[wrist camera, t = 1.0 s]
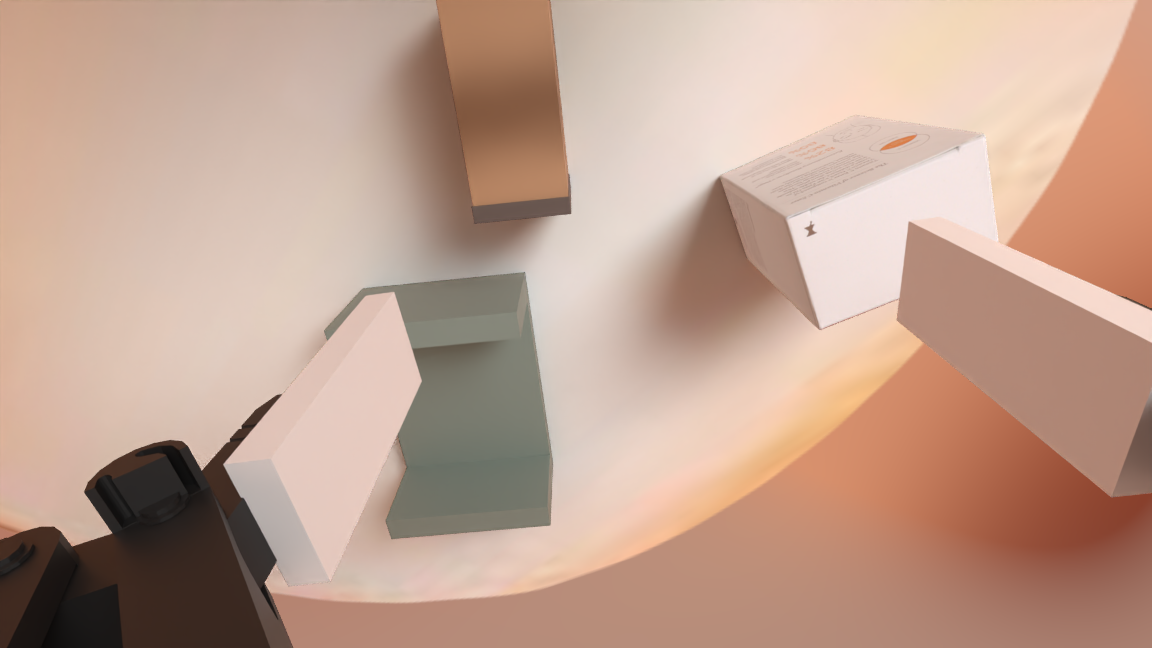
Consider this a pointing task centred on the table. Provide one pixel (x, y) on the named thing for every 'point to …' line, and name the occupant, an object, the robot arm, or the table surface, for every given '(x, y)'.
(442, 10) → the rail end
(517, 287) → the bracket
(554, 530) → the table surface
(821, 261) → the small box
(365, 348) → the robot arm
